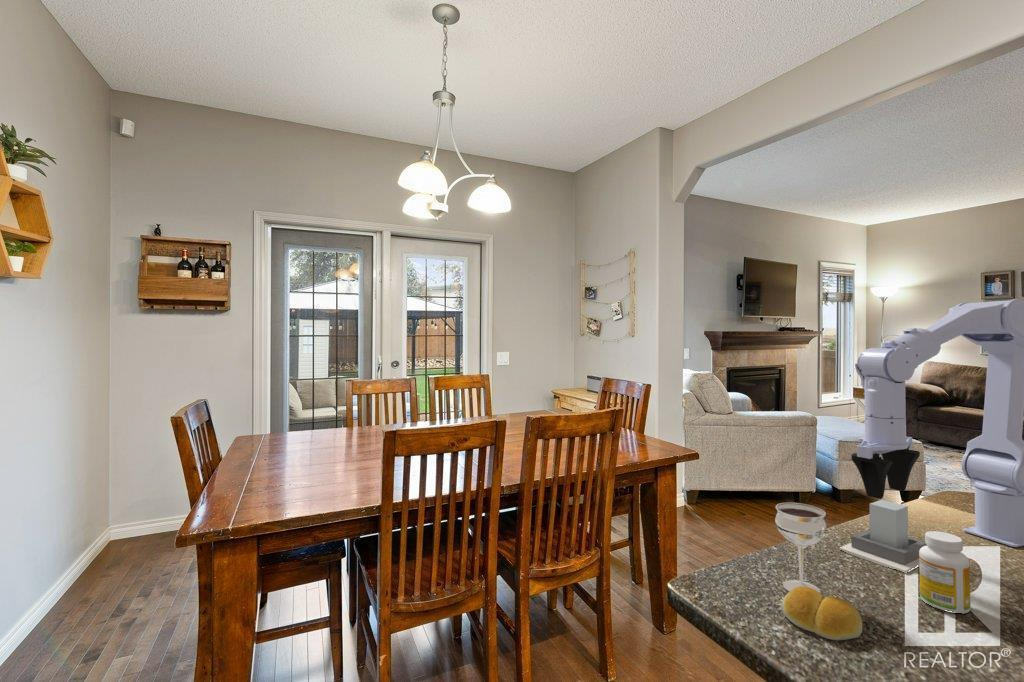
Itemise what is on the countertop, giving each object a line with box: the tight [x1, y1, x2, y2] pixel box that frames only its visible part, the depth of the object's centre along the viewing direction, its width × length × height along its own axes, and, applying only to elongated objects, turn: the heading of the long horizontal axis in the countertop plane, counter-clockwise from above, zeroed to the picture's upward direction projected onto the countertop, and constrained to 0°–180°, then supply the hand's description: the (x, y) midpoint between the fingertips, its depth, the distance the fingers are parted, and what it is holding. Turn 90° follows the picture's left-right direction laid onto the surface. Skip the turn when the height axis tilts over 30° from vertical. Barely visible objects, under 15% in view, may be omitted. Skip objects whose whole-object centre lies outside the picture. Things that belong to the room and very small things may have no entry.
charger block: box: [868, 499, 909, 549], centre depth 85 cm, size 4×4×8 cm
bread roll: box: [780, 586, 863, 641], centre depth 66 cm, size 8×9×4 cm
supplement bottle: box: [919, 530, 972, 615], centre depth 69 cm, size 5×5×10 cm
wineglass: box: [774, 502, 827, 594], centre depth 74 cm, size 7×7×12 cm
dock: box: [838, 528, 927, 574], centre depth 85 cm, size 12×10×2 cm
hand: (886, 493), depth 85 cm, fingers open, 7 cm apart
